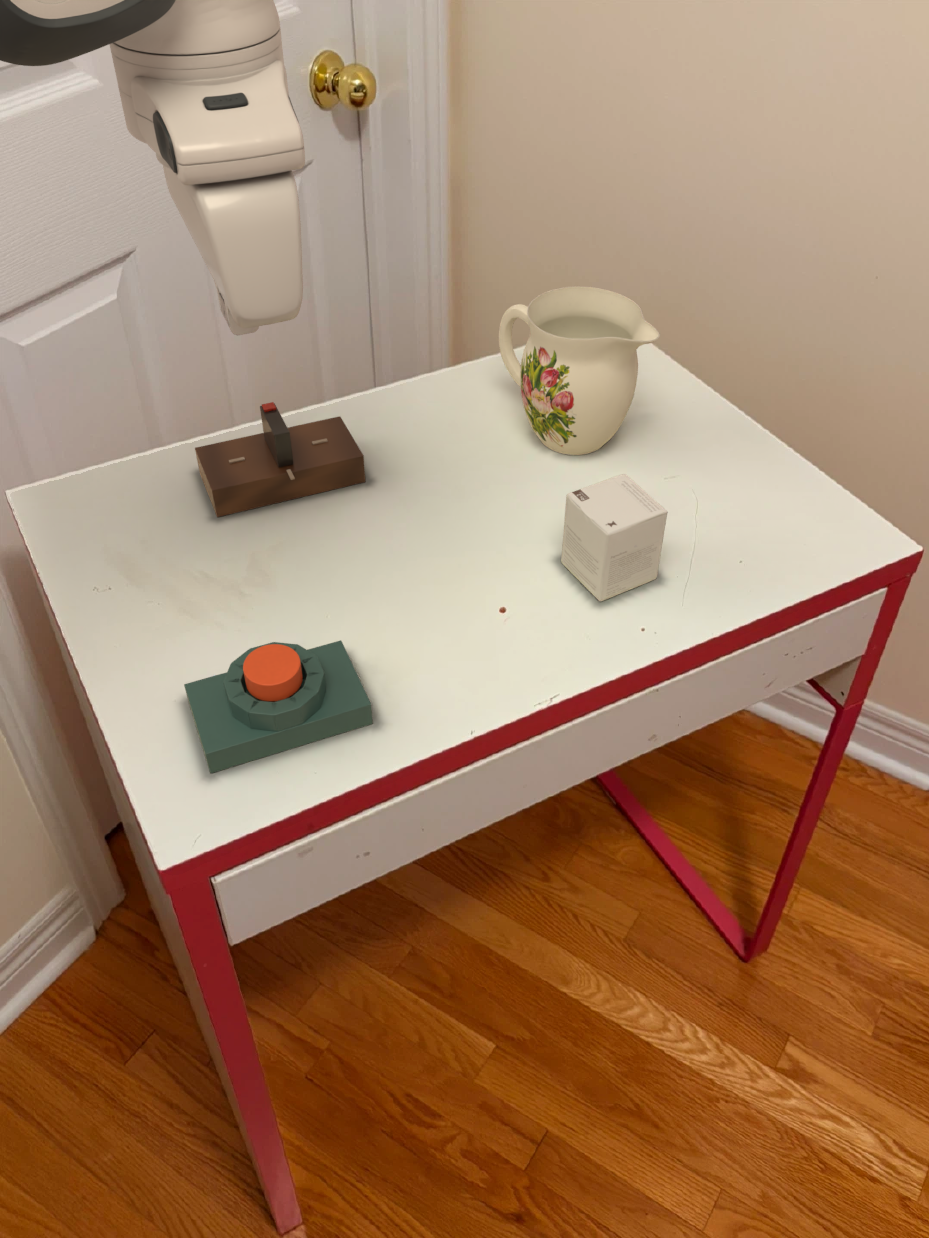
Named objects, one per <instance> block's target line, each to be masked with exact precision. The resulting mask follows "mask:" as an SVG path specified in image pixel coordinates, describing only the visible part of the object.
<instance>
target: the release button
mask: <svg viewBox="0 0 929 1238" xmlns="http://www.w3.org/2000/svg"><path fill="white" fill-rule="evenodd" d="M243 672H244V677H245V682H246V686H247V689H248V691H249V693H250V694H251V695H252V696H254V697H255V698H257V699H259V700H263V701H270V702H272V701H280V700H283V699H286V698H288V697H290V696H292V695H293V694H294V693H296V692H297V691H298V689H299V688H300V686H301V684H302V680H303V676H302V669H301V662H300V658H299V655H298V654H297V653H296V652H295V651H294V650H293V649H292V648H290V647H288V646H285V645H280V644H270V645H265V646H262V647H259V648H257V649H255V650H254V651H252V652H251V653H250V654H249V655H248V656H247V657H246V659H245V661H244V664H243Z"/></svg>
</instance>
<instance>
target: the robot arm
mask: <svg viewBox="0 0 929 1238" xmlns="http://www.w3.org/2000/svg"><path fill="white" fill-rule="evenodd" d="M282 41H283V40H282V31H281V21H280V16H279V12H278V9H277V6H276V4H275V1H274V0H0V61H1V62H4V63H7V64H12V65H15V66H16V65H17V66H24V67H43V66H52V65H55V64H60V63H63V62H65V61H69V60H72V59H74V58H78V57H80V56H83V55H86V54H88V53H91V52H94V51H97V50H99V49H101V48H104V47H106V46H109V49H110V53H111V57H112V63H113V68H114V73H115V77H116V82H117V87H118V92H119V97H120V102H121V107H122V111H123V117H124V120H125V126H126V129H127V131H128V133H129V134H130V135H131V136H132V137H133V138H135V139H136V140H138V141H140V142H141V143H143V144H146V145H147V146H148V147H149V148H150V149H151V150H152V151H153V152H154V153H155V157H156V159H157V161H158V162H159V163H160V164H161V165H162V168H163V174H164V178H165V182H166V186H167V190H168V193H169V195H170V197H171V199H172V201H173V203H174V205H175V207H176V209H177V211H178V213H179V214H180V216H181V219H182V221H183V222H184V224H185V227H186V229H187V230H188V232H189V234H190V236H191V238H192V240H193V242H194V245H195V246H196V248H197V250H198V252H199V255H200V256H201V258H202V260H203V262H204V263H205V265H206V268H207V269H208V271H209V273H210V276H211V277H212V280H213V282H214V285H215V289H216V292H217V300H218V305H219V310H220V312H221V314H222V317H223V318H224V320H225V321H226V324H227V326H228V327H229V330H230V332H231V333H232V334H233V335H235V336H243V335H247V334H253V333H256V332H257V331H258V330H259V328H260V327H263V326H269V325H273V324H279V323H284V322H288V321H291V320H294V319H295V318H297V317H298V315H299V313H300V310H301V307H302V303H303V297H304V279H303V277H304V276H303V275H304V274H303V250H302V245H303V244H302V228H301V227H302V226H301V225H302V224H301V211H300V203H299V202H300V200H299V194H298V187H297V182H296V178H295V175H294V172H293V171H296V170H297V171H298V170H300V169H303V168H304V167H305V165H306V152H305V141H304V135H303V131H302V128H301V125H300V122H299V119H298V117H297V114H296V111H295V109H294V106H293V103H292V100H291V98H290V94H289V93H290V92H289V84H288V76H287V74H288V73H287V69H286V66H285V60H284V51H283V49H284V48H283V42H282Z"/></svg>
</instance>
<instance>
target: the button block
mask: <svg viewBox="0 0 929 1238" xmlns="http://www.w3.org/2000/svg"><path fill="white" fill-rule="evenodd" d="M270 644H280V645H285V646H288V647H290V648H292V649H293V650H294V651H295V652H296V653H297V654H298V655H299V658H300V662H301V669H302V676H303V680H302V684H301V686H300V688H299V689H298V691H297V692H296V693H294V694H293V695H292V696H290V697H288V698H286V699H283V700H280V701H272V702H270V701H263V700H259V699H257V698H255V697H254V696H252V695H251V694H250V693H249V691H248V689H247V686H246V682H245V677H244V672H243V664H244V661H245V659H246V657H247V656H248V655H249V654H250V653H251V652H252V651H254V650H255V649H257V648H259V647H262V646H265V645H270ZM183 686H184V690H185V694H186V697H187V701H188V702H187V703H188V705H189V708H190V711H191V715H192V718H193V721H194V726H195V728H196V731H197V735H198V738H199V741H200V744H201V747H202V751H203V755H204V757H205V761H206V764H207V768H208V771H209V773H210V774H213V773H217V772H220V771H223V770H226V769H227V770H228V769H230V768H234V767H237V766H240V765H243V764H247V763H249V762H254V761H256V760H260V759H263V758H266V757H270V756H273V755H275V754H279V753H282V752H286V751H289V750H292V749H295V748H298V747H302V746H305V745H309V744H312V743H315V742H319V741H320V740H325V739H327V738H331V737H334V736H338V735H342V734H344V733H347V732H351V731H353V730H358V729H360V728H361V729H362V728H364V727H367V726H370V725H373V723H374V722H373V711H372V710H373V709H372V703H371V700H370V699H369V697H368V694H367V692H366V690H365V687H364V686H363V683H362V682H361V679H360V677H359V675H358V673H357V671H356V669H355V667H354V664H353V662H352V660H351V658H350V656H349V653H348V652H347V650H346V647H345V645H344V643H343V641H342V640H336V641H334V642H330V643H325V644H323V645H319V646H315V647H312V648H308V649H306V648H305V647H303V646H301V645H300V644H298V643H289V642H288V643H287V642H280V641H279V642H278V641H273V642H269V643H265V644H261V645H257V646H254V647H250V648H248V649H247V650H246V651H245V652H243V653H242V654H241V655H240V656H238V657H236V658H235V660H233V661H232V662H231V663H230V664H229V667H228V669H227V672H226V671H225V672H223V673H220V674H216V675H211V676H209V677H204V678H201V679H198V680H194V681H191V682H186V683H184V684H183Z"/></svg>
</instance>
